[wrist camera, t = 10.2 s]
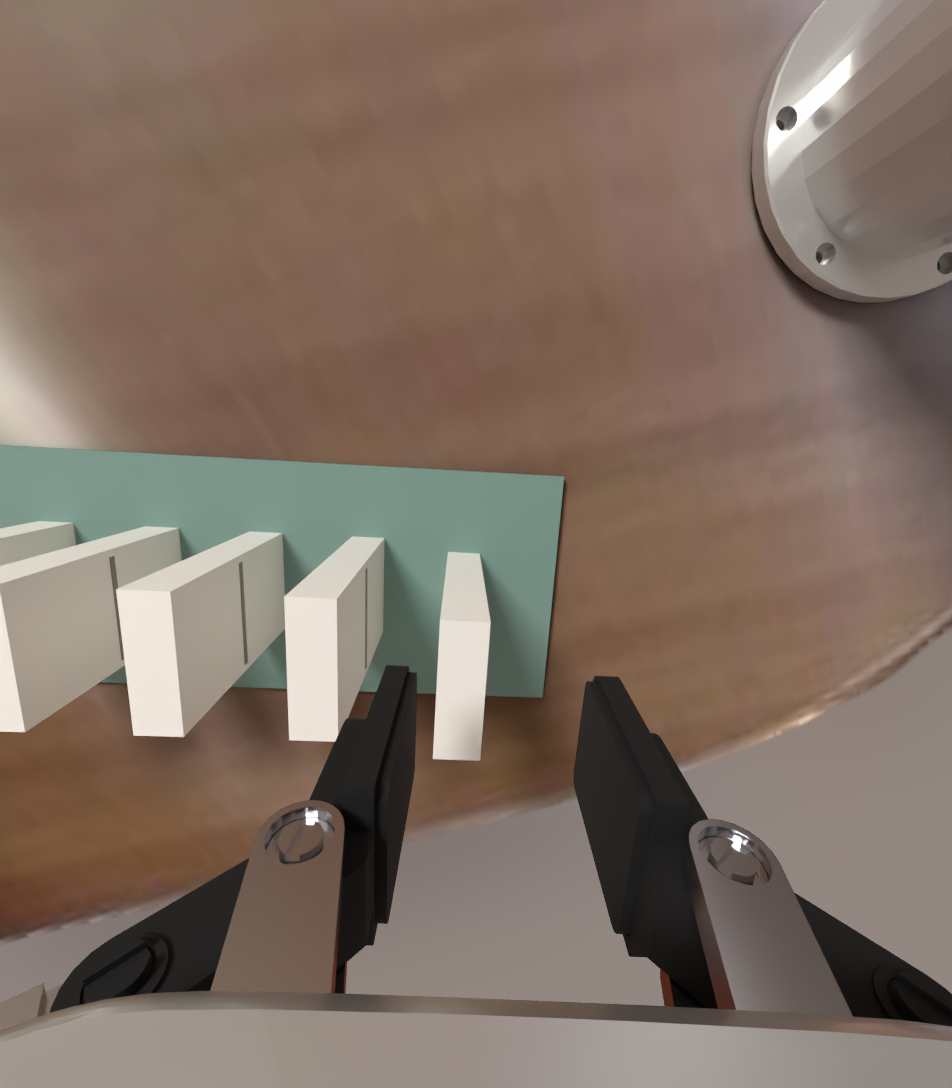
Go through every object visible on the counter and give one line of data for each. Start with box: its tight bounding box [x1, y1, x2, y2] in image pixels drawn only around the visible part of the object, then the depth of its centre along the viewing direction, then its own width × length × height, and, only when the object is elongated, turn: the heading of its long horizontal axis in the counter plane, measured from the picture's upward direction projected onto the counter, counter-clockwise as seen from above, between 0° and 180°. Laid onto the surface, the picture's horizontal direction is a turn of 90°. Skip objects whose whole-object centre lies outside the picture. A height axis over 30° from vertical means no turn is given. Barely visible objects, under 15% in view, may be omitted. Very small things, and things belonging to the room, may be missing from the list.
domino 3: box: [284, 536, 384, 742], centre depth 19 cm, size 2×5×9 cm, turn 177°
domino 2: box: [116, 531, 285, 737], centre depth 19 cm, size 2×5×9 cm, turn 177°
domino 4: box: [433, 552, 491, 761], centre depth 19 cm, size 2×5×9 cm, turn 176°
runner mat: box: [0, 445, 564, 698], centre depth 23 cm, size 30×12×1 cm, turn 87°
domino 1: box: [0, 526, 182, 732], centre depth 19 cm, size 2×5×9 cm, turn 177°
